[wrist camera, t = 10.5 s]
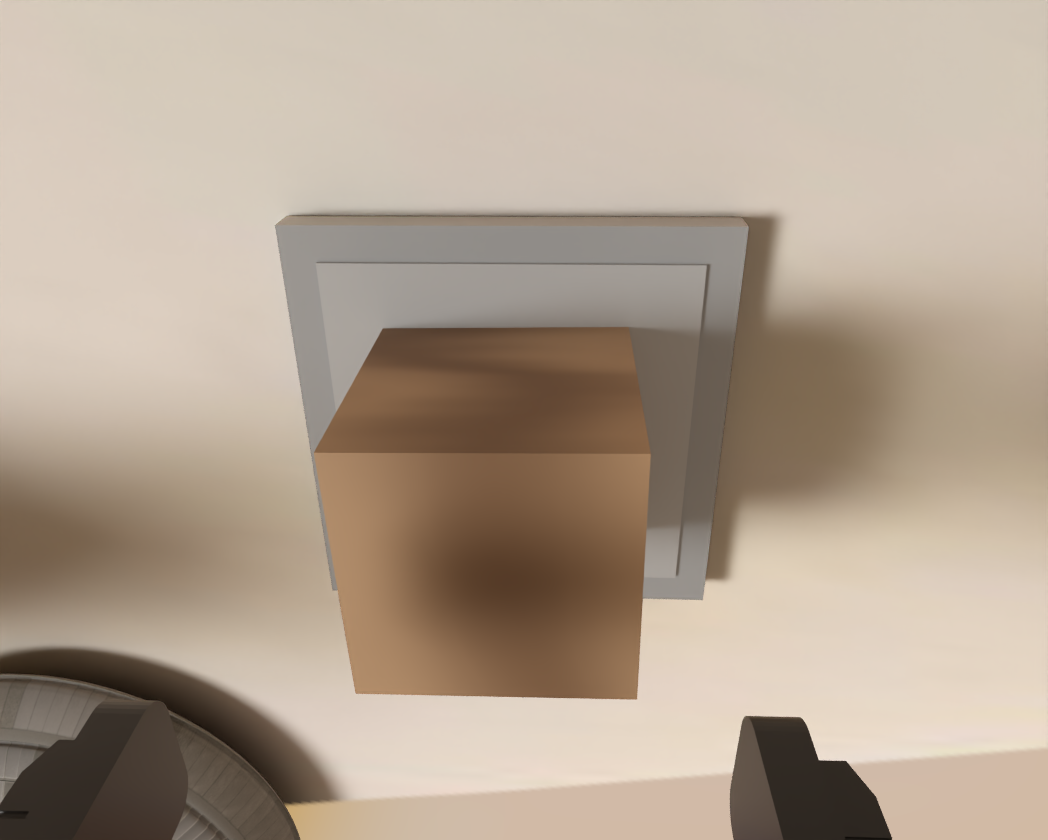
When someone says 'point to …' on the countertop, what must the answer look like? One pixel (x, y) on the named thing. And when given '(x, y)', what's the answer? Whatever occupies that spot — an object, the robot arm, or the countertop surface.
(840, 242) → the countertop surface
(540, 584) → the walnut cube
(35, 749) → the flying saucer
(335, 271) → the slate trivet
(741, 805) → the robot arm
